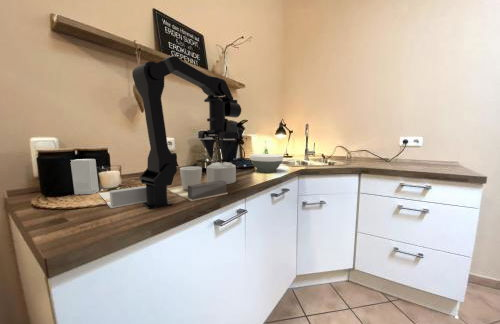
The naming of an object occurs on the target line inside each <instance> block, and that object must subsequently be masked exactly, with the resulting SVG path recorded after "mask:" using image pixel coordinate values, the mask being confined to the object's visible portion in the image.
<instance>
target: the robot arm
mask: <svg viewBox="0 0 500 324" xmlns="http://www.w3.org/2000/svg"><path fill="white" fill-rule="evenodd" d="M170 74H173V75H175V76H177V77H179V78H180V79H183V80H184V81H186V82H189V83H190V84H193V85H194V86H196V87H198V88H200V89H201V90H202V92H203V93H204V94H205V95H206V96H207V97H206V98H205V99H203V102H204V103H208V106H209V107H208V108H209V109H208V110H209V115H208V116H209V117H208V118H206V121H207V122H209V129H207V130H206V131H205V130H204V131H203V130H200V131H199V132H198V135H197V136H198V139H199V140H200V142H201V143H202V144H203V145H202V146H204V148H205V150H206V153H207V155H208V156H209V158H213V157H214V146H215V145H214V144H215V143H216V142H217V141H218V143H219V148H220V151H221V154H222V159H223V160H227V159H228V156H229V153H230V149H231V146H232V145H233V144H234V143H235V142H237V141H238V139H239V140H240V133H239V127H237V126H235V125H233V124H232V123H229V119H228V118H237V119H238V118H239V117H240V115H241V113H242V107H241V105H240V104H239V103H238V100H237V99H234V97H233V95H232V92H231V90H230V88H229V87H228V86H229V85H228V84H227V81H226V80H225V79H223V78H220V77H218V76H212V75H211V76H210V75H207V74H206V73H204V72H202V71H201V70H199V69H197V68H195V67H194V66H192V65H190V64H188V63H187V62H185V61H183V60H182V59H180V58H179V57H178V56H176V55H170V56H167V57H165V58H164V59H162V60H160V61H158V62H155V61H147V62H145V63H142V64H140V65H137V66H135V67H134V68H133V70H132V73H131V75H132V80H133V81H134V85H135V88H136V90H137V91H138V93H139V95H140V97H141V98H142V103H143V108H144V115H145V122H146V128H147V135H148V142H149V148H150V151H149V153H148V155H147V168H146V169H145V170H144V171H143V172H142V173H141V175H140V176H139V180H140V182H141V184H143V185H145V186H146V199H147V202H143V203H142V206H144V207H145V208H147V209H148V210H153V209H157V208H163V207H168V206H172V205H173V202H171V201H169V199H168V190H167V188H168V186H171V185H172V184H173V180H174V178H175V176H176V174H177V173H178V167H179V164H178V156H177V153H176V152H172V151H171V150H170V149H169V145H168V138H167V130H166V123H165V117H164V115H165V114H164V109H163V103H162V96H163V92H164V89H165V78H166V76H169V75H170ZM226 117H227V118H226ZM216 138H219V139H218V140H217V139H216Z"/></svg>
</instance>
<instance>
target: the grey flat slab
mask: <svg viewBox="0 0 500 324" xmlns="http://www.w3.org/2000/svg"><path fill="white" fill-rule="evenodd" d="M98 195H99V197H100V198H101V199H102V198H103V199H104V200H106V199H109V198H110V202H107V203H106V205H107V206H108V207H109V208H110V209H115V208H120V207H126V206H130V205H131V206H132V205H136V204H143V202H147V199H146V185H142V186H134V187H127V188H121V189H120V188H119V189H113V190H109V191H106V192H98ZM103 199H102V200H103ZM104 200H103V201H104Z"/></svg>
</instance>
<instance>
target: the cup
mask: <svg viewBox="0 0 500 324" xmlns="http://www.w3.org/2000/svg"><path fill="white" fill-rule="evenodd" d="M202 173H203V167H202V166H182V167H180V168H179V174H180V181H181V186H182V187H183V189H185V190H188V185H195V184H201V183H202Z"/></svg>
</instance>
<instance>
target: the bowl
mask: <svg viewBox="0 0 500 324" xmlns="http://www.w3.org/2000/svg"><path fill="white" fill-rule="evenodd" d="M249 159H250V161H251V163H252V165H253V167H254V168H256V171H257V172H259V173H265V174H266V173H275V172H276V171H277V169H279V168H280V165H281V164H282V162H283V160H284V155H283V154H279V153H253V154H249Z"/></svg>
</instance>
